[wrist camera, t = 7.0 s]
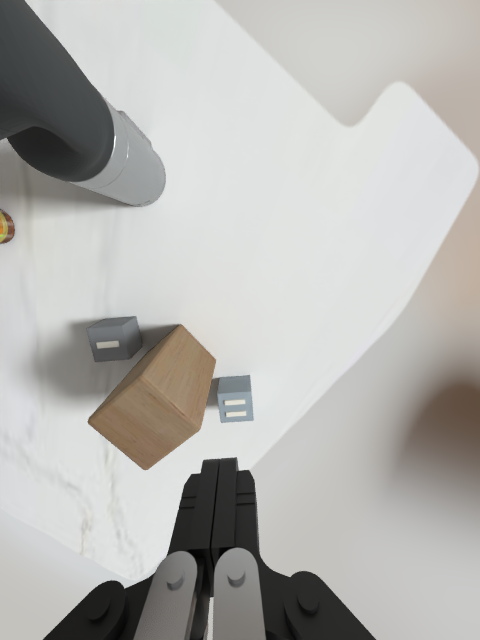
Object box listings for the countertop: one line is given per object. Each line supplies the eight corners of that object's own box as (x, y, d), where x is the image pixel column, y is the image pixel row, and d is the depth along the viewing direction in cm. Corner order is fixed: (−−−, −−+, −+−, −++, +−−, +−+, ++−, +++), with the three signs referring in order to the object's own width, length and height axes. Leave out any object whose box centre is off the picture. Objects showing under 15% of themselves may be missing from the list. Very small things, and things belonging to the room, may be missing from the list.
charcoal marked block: (104, 318, 48) (85, 329, 42) (136, 316, 48) (121, 326, 42) (112, 348, 50) (94, 362, 44) (142, 346, 50) (128, 360, 44)
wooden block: (180, 389, 52) (145, 473, 33) (144, 355, 50) (84, 422, 31) (217, 360, 50) (202, 430, 31) (181, 322, 48) (141, 373, 29)
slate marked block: (219, 377, 52) (216, 394, 46) (249, 375, 51) (250, 392, 45) (223, 403, 53) (220, 423, 47) (252, 401, 53) (253, 421, 47)
